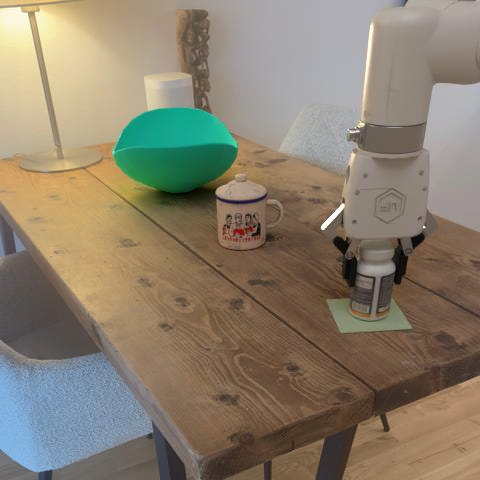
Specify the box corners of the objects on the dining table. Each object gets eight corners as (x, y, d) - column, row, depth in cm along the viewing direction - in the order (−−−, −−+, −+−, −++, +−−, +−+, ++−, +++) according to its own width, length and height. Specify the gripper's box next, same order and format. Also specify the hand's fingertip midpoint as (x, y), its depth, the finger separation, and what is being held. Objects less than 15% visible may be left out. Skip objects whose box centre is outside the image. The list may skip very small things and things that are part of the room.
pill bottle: (379, 302, 83) (389, 235, 77) (394, 320, 79) (406, 251, 72) (342, 305, 82) (349, 239, 76) (355, 324, 78) (363, 255, 72)
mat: (391, 296, 85) (391, 295, 85) (412, 329, 77) (412, 328, 77) (325, 300, 84) (325, 299, 84) (340, 333, 76) (340, 332, 76)
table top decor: (248, 213, 115) (248, 142, 107) (112, 221, 113) (100, 149, 105) (231, 162, 146) (229, 104, 138) (123, 168, 144) (115, 109, 136)
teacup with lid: (217, 252, 100) (213, 183, 92) (217, 233, 107) (214, 168, 99) (284, 250, 100) (287, 181, 92) (280, 231, 107) (281, 166, 99)
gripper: (325, 148, 63) (315, 297, 74) (475, 141, 64) (443, 290, 75) (313, 133, 69) (305, 274, 80) (450, 127, 69) (424, 267, 81)
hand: (372, 280), depth 77 cm, fingers closed on pill bottle, 5 cm apart
